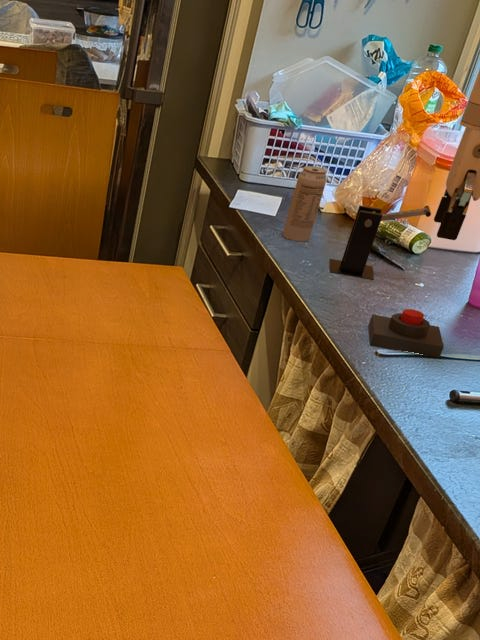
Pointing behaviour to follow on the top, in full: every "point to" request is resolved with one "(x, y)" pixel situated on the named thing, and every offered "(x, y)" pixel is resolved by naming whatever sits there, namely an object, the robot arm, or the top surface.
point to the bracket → (359, 245)
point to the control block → (405, 335)
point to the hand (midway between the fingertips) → (444, 230)
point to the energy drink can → (305, 203)
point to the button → (412, 317)
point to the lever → (406, 214)
